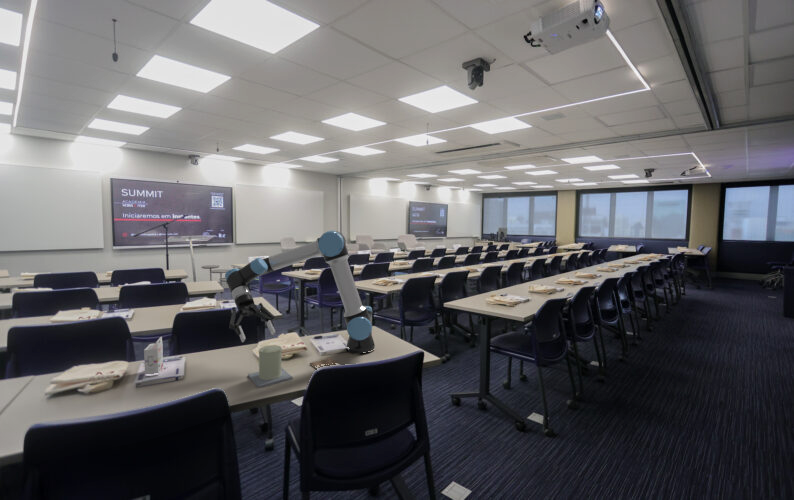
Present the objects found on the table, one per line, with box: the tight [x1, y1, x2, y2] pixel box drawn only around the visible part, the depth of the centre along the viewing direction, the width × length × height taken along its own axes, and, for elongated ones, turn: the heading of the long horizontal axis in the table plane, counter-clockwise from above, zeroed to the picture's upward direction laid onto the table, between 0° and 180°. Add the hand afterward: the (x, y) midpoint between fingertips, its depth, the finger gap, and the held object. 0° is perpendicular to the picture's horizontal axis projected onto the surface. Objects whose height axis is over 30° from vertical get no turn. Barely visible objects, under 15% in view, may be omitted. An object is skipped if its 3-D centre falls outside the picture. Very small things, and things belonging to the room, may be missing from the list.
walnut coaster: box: [309, 357, 338, 370], centre depth 160 cm, size 11×11×1 cm
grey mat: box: [247, 367, 294, 389], centre depth 146 cm, size 14×14×1 cm
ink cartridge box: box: [143, 336, 164, 375], centre depth 148 cm, size 9×5×15 cm, turn 22°
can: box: [258, 344, 283, 380], centre depth 146 cm, size 9×9×12 cm
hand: (259, 337), depth 151 cm, fingers open, 13 cm apart
